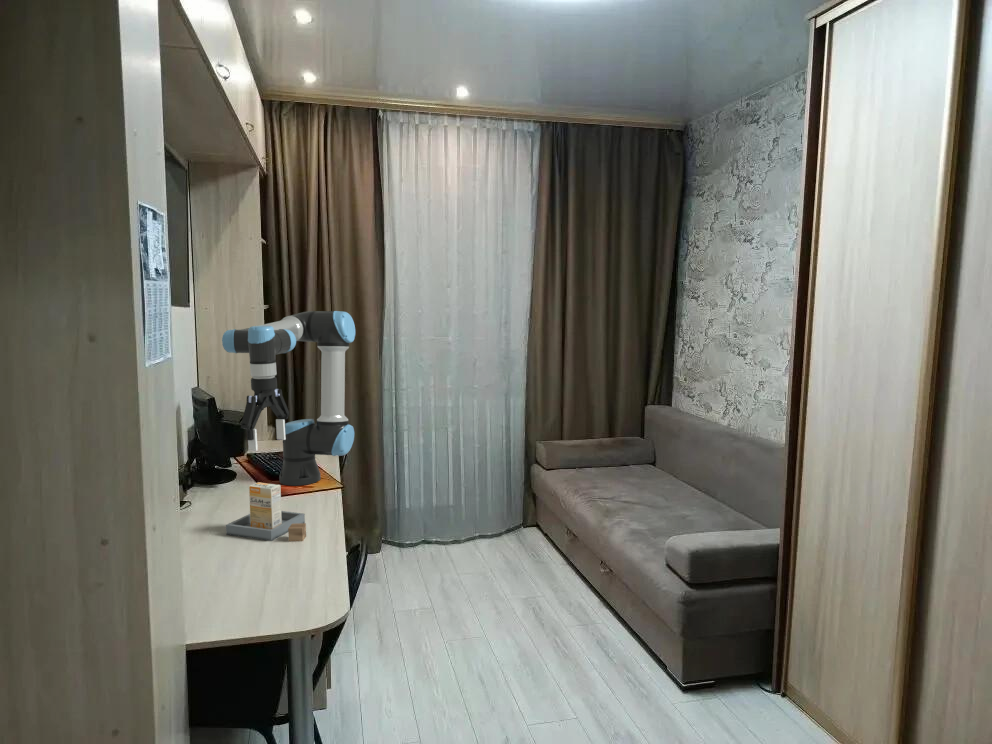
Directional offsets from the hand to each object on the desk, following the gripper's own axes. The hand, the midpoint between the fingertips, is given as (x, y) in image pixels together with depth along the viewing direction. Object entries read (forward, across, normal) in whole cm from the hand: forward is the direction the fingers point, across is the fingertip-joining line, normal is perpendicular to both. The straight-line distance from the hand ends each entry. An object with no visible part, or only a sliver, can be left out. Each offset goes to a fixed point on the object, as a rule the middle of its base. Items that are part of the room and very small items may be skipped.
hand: (267, 444), depth 203 cm
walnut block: (+24, +11, +17) cm, 31 cm away
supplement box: (+24, +7, +3) cm, 25 cm away
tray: (+24, +7, +3) cm, 25 cm away
